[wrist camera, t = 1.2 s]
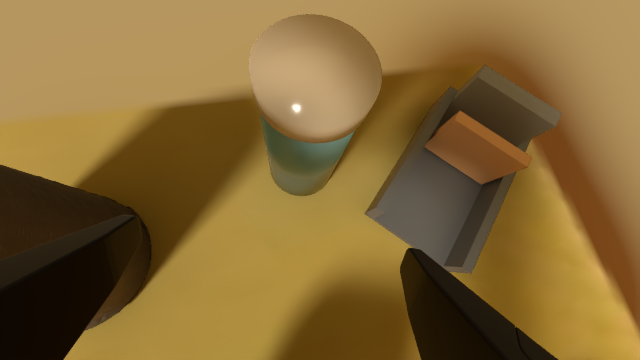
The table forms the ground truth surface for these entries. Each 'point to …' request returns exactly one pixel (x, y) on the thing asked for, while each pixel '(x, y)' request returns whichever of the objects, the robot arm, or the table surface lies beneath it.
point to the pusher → (476, 149)
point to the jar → (311, 95)
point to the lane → (457, 173)
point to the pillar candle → (64, 226)
